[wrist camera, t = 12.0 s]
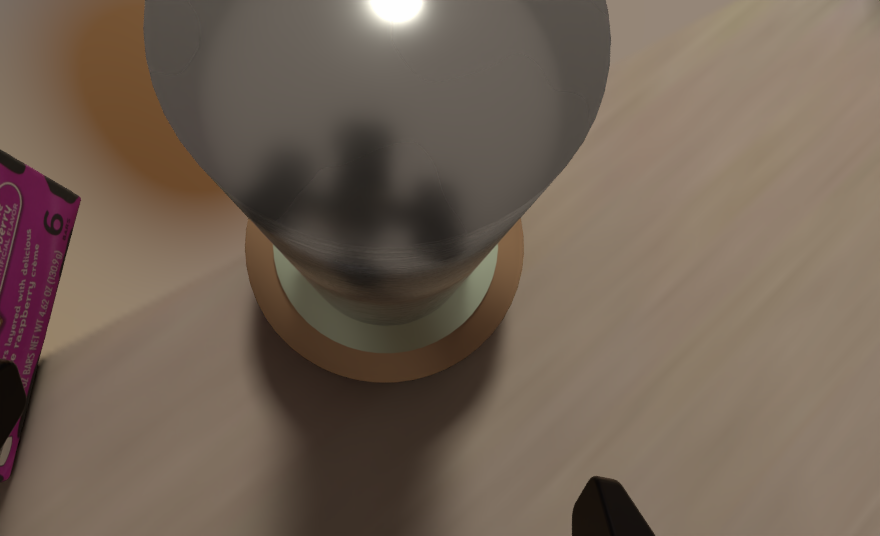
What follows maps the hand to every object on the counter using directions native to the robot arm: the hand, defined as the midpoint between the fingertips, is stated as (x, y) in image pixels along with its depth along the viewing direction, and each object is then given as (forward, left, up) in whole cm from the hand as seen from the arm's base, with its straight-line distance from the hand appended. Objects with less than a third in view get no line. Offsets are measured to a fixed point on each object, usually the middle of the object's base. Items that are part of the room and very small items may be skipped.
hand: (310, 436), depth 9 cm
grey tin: (+4, +4, -10) cm, 12 cm away
